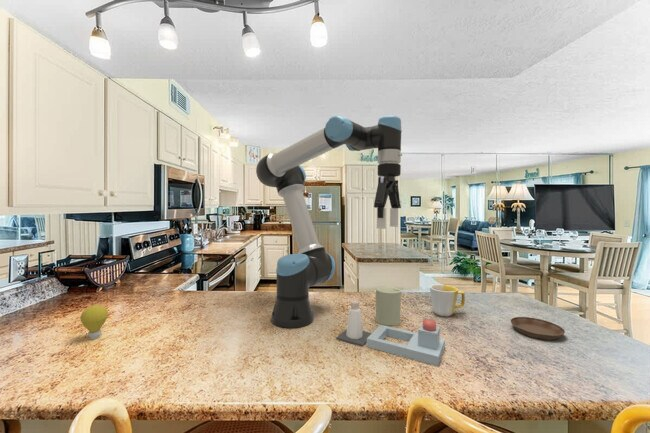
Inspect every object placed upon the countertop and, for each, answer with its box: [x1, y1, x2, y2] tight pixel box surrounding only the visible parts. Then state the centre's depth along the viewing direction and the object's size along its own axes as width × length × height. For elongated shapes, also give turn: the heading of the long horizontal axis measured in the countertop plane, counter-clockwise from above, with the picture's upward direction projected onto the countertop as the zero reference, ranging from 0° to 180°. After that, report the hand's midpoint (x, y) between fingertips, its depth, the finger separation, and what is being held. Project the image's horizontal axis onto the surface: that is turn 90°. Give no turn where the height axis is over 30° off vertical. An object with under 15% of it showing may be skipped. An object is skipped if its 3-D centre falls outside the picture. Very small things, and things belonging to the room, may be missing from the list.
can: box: [374, 285, 402, 327], centre depth 105 cm, size 9×9×12 cm
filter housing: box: [366, 323, 446, 367], centre depth 85 cm, size 20×12×7 cm, turn 60°
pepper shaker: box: [346, 299, 363, 339], centre depth 91 cm, size 5×5×11 cm
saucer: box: [510, 316, 566, 341], centre depth 97 cm, size 15×15×3 cm
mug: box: [429, 283, 466, 317], centre depth 113 cm, size 14×10×10 cm
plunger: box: [422, 318, 437, 331], centre depth 82 cm, size 4×4×2 cm
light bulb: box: [79, 304, 109, 340], centre depth 89 cm, size 7×7×10 cm
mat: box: [335, 328, 373, 347], centre depth 91 cm, size 9×9×1 cm
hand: (387, 227), depth 97 cm, fingers open, 13 cm apart
